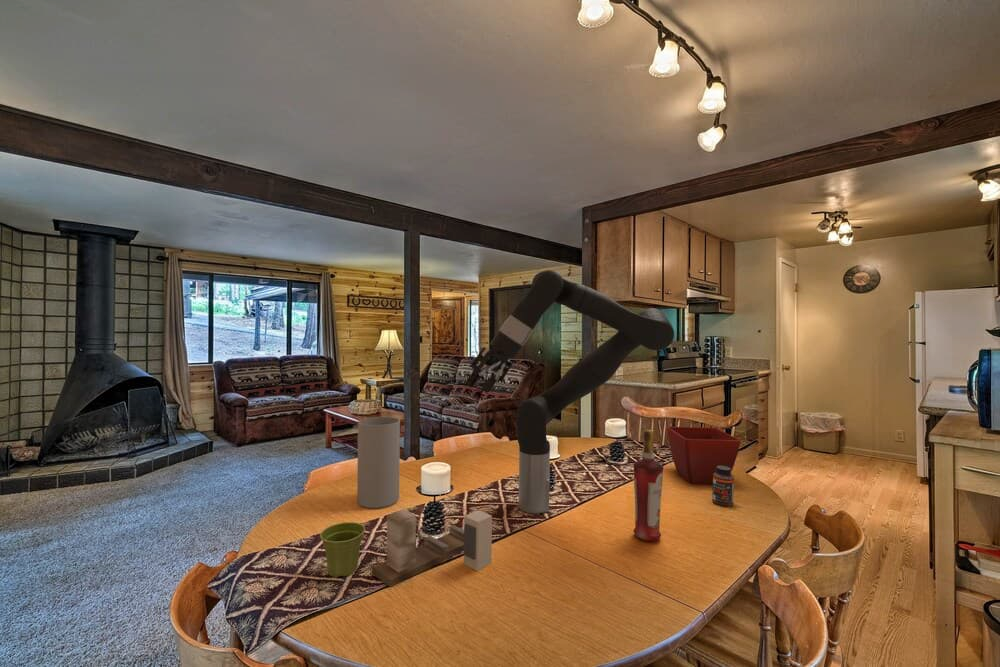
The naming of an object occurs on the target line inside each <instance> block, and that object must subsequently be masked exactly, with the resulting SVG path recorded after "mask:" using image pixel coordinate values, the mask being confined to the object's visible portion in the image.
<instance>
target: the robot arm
mask: <svg viewBox="0 0 1000 667" xmlns="http://www.w3.org/2000/svg"><path fill="white" fill-rule="evenodd" d="M554 303H557V304H560V305H563V306H565V307H566V308H568V309H571V310H572V311H574V312H577V313H579V314H581V315H584V316H586V317H589V318H591V319H593V320H596V321H598V322H600V323H602V324H605V325H606V326H608V327H610V328H613V329H614V330H616V331H617V332H616V333H615V334H614V335H612V336H611V337H610V338H608V339H607V340H605V341H604V342H603V343H601V344H600V345H599V346H597V347H596V348H595V349H593V351H591V352H590V353H589V354H587V355H586V356H584V357H583V358H581V359H580V360H579V361H577V362H576V363H575V364H574V365H573V366H571V367H570V368H569V369H568V370H567V371H566V372H565V373H564V375H562V376H561V378H560V379H559V381H557V382H556V383H555V384H554V385H553V386H551V387H550V388H548V389H547V390H546V389H545V391H544V392H542V393H540V394H538V395H536V396H533V397H531V398H528V399H526V400H523V401H522V402H521V403H520V405H518V408H517V411H516V412H517V413H516V438H517V440H516V441H517V443H518V447H519V450H518V452H519V453H518V457H519V458H518V461H519V462H518V464H519V465H518V508H519V510H520V511H522V512H525V513H527V514H543V513H550V485H551V484H550V478H551V477H550V473H551V472H550V465H551V464H550V462H551V453H550V452H551V443H550V441H549V440H548V438H547V425H548V424H549V423H550V422H551V421H552V420H554V419H555V417H556V416H558V415H559V414H560V413H561V412H562V411H563V410H565V409H566V408H568V406H569V405H570V404H573V403H574V402H576V401H578V400H580V399H582V398H584V397H586V396H587V395H589V394H590V393H592V392H594V391H595V390H597V389H599V388H600V387H601V386H602V385H604V384H605V383H607V382H609V380H610V379H611V378H612V377H613V376H614V375H615V374H616V372H617V371H618V370H619V369H620V366H621V365H622V364H623V362H624V361H625V360H626V358H627V357H628V356H629V354H631V352H633V351H634V350H636V349H637V348H639V347H640V346H643V347H644V348H646V349H648V350H650V351H662V350H665V349H666V348H668V347H669V346H671V344H672V343H673V342H674V339H675V330H674V327H673V325H672V323H671V322H670V320H669V319H668V317H667V316H666V315H665V313H664V312H663V311H662V310H660V309H658V308H655V307H654V308H653V307H650V308H645V309H643V310H641V311H639V312H638V313H636V312H634V311H632V310H631V309H627V308H626V307H625V306H623V305H622V304H619V303H618V302H616V301H615V300H614V299H612V298H610V297H609V296H607V295H606V294H603V293H602V292H600V291H598V290H596V289H594V288H591V287H589V286H587V285H584V284H582V283H578V282H573V281H570V280H568V279H565V278H563V277H562V275H561V274H560V273H559V272H557V271H556V270H553V269H548V270H547V269H546V270H542V271H540V272H537V273H536V274H535V275H534V276H533V279H532V282H531V288H530V290H529V291H528V293H527V294H526V295H525V297H523V298H522V299H521V300H519V302H518V303H517V304H516V306H515V307H514V308H513V310H512V312H510V313H511V314H510V315H509V316H508V317H507V318H506V320H505V321H504V322H503V324H502V325H500V327H499V330H497V332H496V333H495V335H494V337H493V339H491V341H490V343H489V344H490V346H492V347H491V348H490V350H489V349H488V348H486V347H483V348H482V349H481V350H480V352H479V353H478V354H477V356H476V357H475V359H474V360H473V361H472V363H471V364H470V367H471V369H472V372H471V373H470V374H469V376H468V378H467V380H466V381H465V385H467V386H468V387H469V388H474V387H475V386H476V383H477V382H478V381H479V380H480V378H481V376H483V374H485V373H487V372H489V373H490V374H489V377H487V379H486V381H485V382H484V384H483V385H482V387H481V390H482V391H483V392H485V394H488V393H489V392H491V390H492V389H493V386H495V384H496V383H498V382H499V381H500V382H502V381H503V380H504V379H505V377H506V375H507V374H508V372H509V371H510V369H511V368H512V366H513V362H512V361H511V360H515V359H516V357H517V356H518V354H519V352H520V351H521V350H522V348H523V346H524V345H525V344H526V342H528V340H529V337H530V336H531V334H532V332H533V331H534V329H535V327H536V326H537V324H538V323H539V321H540V319H541V318H542V316H543V315H544V314H545V312H546V311H547V310H549V308H550V307H551V306H552V305H553V304H554ZM509 359H510V360H509Z"/></svg>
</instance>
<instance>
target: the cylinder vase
mask: <svg viewBox="0 0 1000 667" xmlns="http://www.w3.org/2000/svg"><path fill="white" fill-rule="evenodd" d="M400 434H401V419H400V418H398V417H393V416H373V417H366V418H362V419H359V420H358V421H357V474H356V475H357V478H356V479H357V483H356V484H357V486H356V487H357V489H356V490H357V491H356V493H357V495H356V497H357V498H356V500H357V504H358V505H359V506H361V507H362V508H366V509H383V508H388V507H390V506H393V505H394V504H396V503H397V502H398V501H399V498H400V463H401V462H400V457H401V456H400V453H401V452H400V451H401V450H400V448H401V447H400V446H401V442H400V440H401V439H400V436H401V435H400Z"/></svg>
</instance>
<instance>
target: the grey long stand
mask: <svg viewBox="0 0 1000 667" xmlns="http://www.w3.org/2000/svg"><path fill="white" fill-rule="evenodd" d="M462 552H464V528H463V529H462V528H461V527H458V526H456V525H452V526H449V532H448V533H446V534H444V535H442V536H440V537H438V538H435V537H432V536H431V535H429V536H426V537H424V544H421V545H420V546H417V514H415V513H413V512H411V511H409V510H406V509H405V508H404V509H401V510H398V511H395V512H391V513H389V514H387V515H386V561H383V562H381V563H379V564H377V565H375V566H372V567H371V568H372V569H371V570H372V571H371V572H372V576H374V577H376V579H378V580H380V581H381V582H382V583H384V584H385V585H387V586H388V587H390V588H392V587H394V586H395V585H396V586H397V585H398V584H400V583H402V582H404V581H406V580H408V579H410V578H412V577H414V576H416V575H417V574H420V573H422V572H424V571H425V570H428V569H430V568H432V567H434V566H436V565H438V564H440V563H442V562H444V561H446V560H449V559H450V558H452V557H453V556H456V555H457V554H460V553H462Z"/></svg>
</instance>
